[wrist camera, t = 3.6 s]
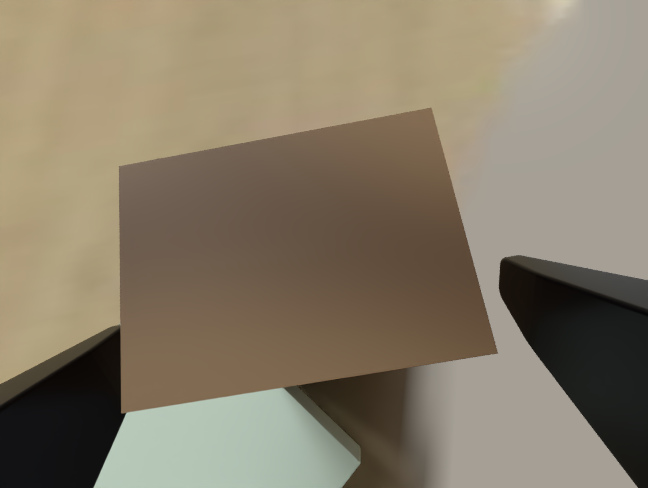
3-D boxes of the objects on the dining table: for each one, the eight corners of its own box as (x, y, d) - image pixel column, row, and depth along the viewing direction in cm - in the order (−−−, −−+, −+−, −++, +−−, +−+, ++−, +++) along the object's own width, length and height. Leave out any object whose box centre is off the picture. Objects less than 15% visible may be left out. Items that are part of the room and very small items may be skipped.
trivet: (360, 446, 17) (360, 463, 14) (179, 677, 15) (146, 738, 13) (190, 284, 19) (166, 274, 17) (21, 465, 18) (-32, 483, 15)
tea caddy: (403, 351, 18) (497, 352, 6) (280, 371, 18) (121, 413, 6) (385, 262, 19) (431, 107, 7) (270, 282, 19) (118, 166, 7)
